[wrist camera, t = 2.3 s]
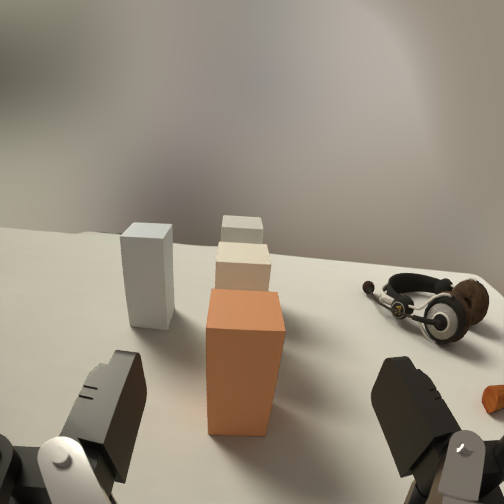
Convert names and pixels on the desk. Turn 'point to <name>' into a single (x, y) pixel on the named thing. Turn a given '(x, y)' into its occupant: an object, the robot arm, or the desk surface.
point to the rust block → (242, 360)
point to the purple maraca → (493, 398)
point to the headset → (435, 304)
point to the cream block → (242, 267)
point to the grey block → (242, 229)
